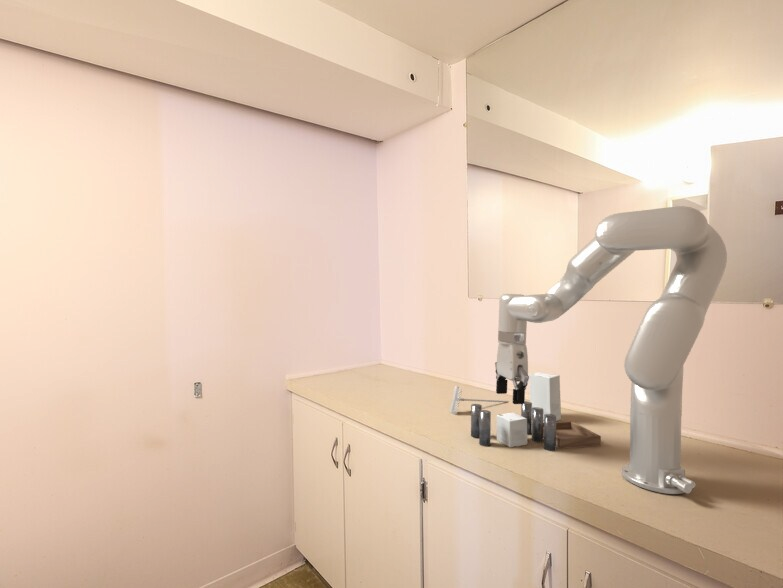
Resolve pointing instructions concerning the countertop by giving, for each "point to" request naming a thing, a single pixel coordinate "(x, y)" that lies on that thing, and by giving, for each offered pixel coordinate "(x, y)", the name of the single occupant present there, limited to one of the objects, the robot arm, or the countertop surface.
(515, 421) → the skincare box
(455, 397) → the brush
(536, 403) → the skincare box
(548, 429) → the posts
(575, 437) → the walnut tray
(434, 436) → the countertop surface
